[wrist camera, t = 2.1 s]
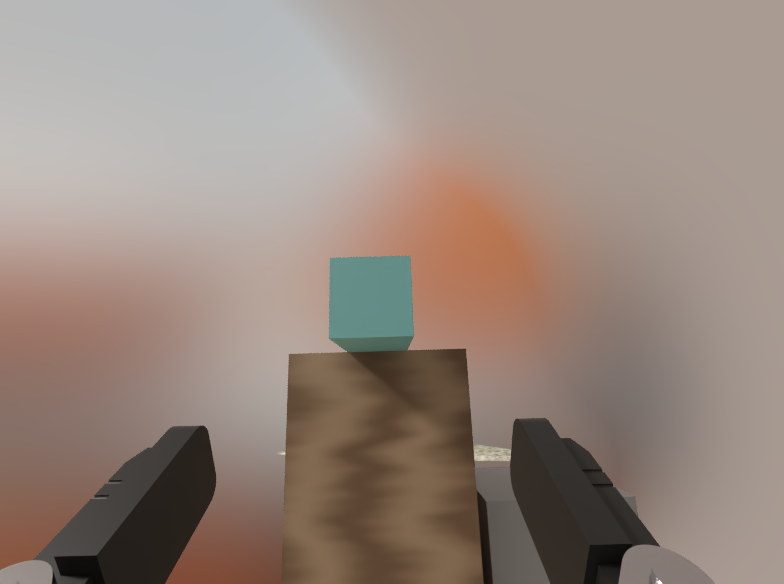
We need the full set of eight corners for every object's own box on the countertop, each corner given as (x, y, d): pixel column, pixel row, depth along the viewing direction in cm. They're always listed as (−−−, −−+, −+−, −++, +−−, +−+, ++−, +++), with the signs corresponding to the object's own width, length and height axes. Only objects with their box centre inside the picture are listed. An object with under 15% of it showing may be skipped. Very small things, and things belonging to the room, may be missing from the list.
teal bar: (401, 363, 41) (399, 326, 42) (413, 336, 18) (410, 255, 19) (364, 364, 41) (364, 327, 42) (328, 338, 18) (329, 257, 19)
